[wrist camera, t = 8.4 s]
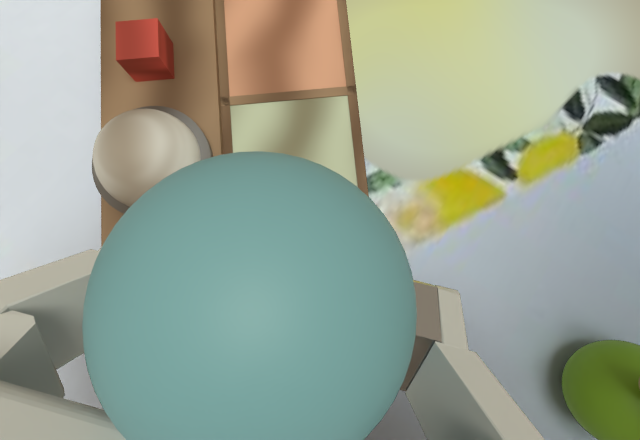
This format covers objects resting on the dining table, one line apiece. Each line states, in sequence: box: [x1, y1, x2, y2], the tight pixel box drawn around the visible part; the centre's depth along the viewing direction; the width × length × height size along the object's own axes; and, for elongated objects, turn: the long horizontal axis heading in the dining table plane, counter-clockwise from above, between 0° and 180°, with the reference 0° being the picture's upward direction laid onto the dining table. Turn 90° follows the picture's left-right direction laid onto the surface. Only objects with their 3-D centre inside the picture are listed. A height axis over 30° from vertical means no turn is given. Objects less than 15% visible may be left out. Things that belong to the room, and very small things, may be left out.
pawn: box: [82, 151, 417, 440], centre depth 9 cm, size 4×4×12 cm
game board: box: [92, 0, 369, 246], centre depth 23 cm, size 16×26×6 cm, turn 5°
